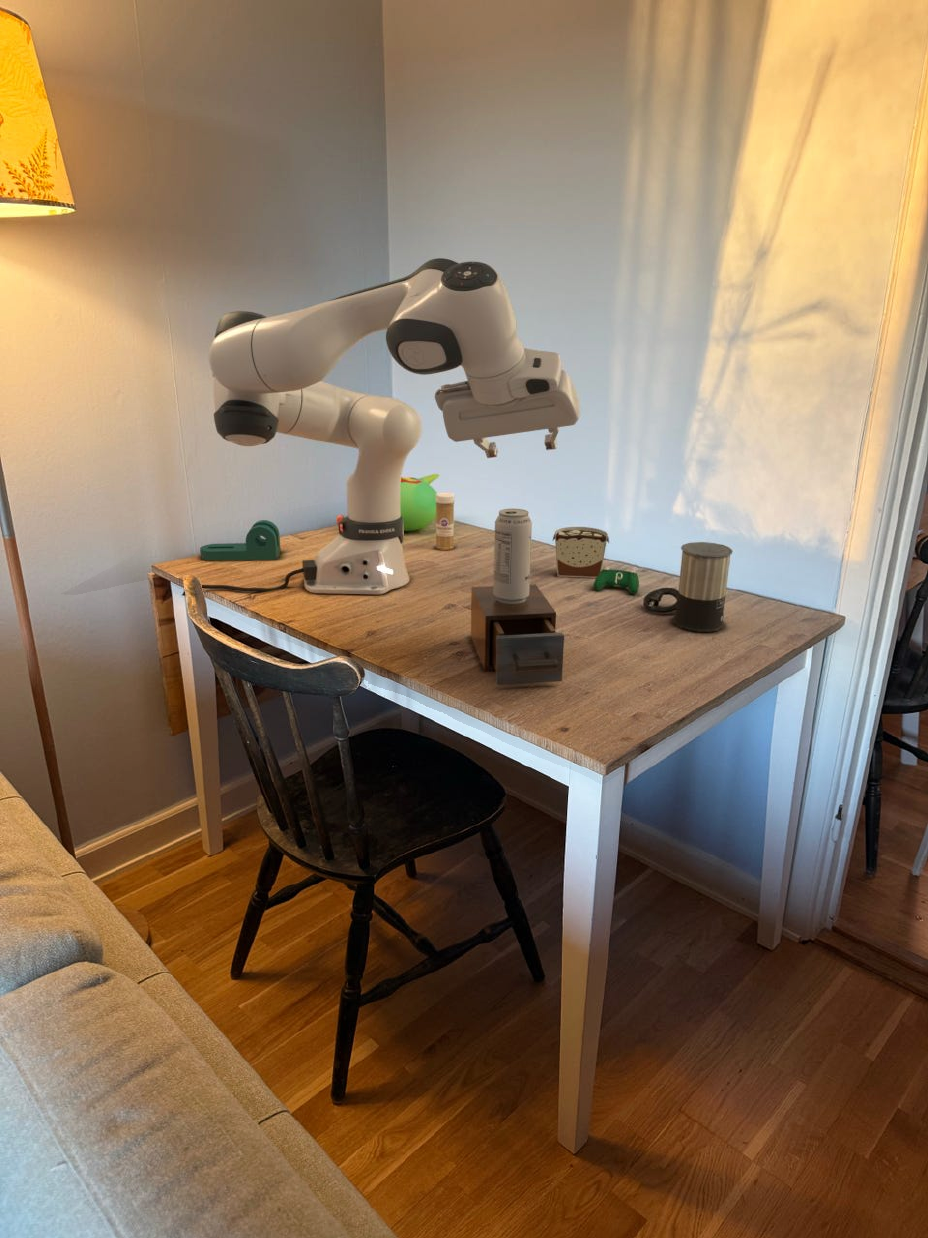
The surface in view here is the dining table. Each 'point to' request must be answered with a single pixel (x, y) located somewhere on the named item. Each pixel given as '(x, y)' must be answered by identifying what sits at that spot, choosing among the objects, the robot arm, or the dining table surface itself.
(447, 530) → the sprinkles bottle
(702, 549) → the milk frother
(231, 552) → the bracket
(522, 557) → the energy drink can
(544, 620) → the drawer
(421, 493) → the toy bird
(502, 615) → the cabinet
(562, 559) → the food container
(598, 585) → the gaming controller
